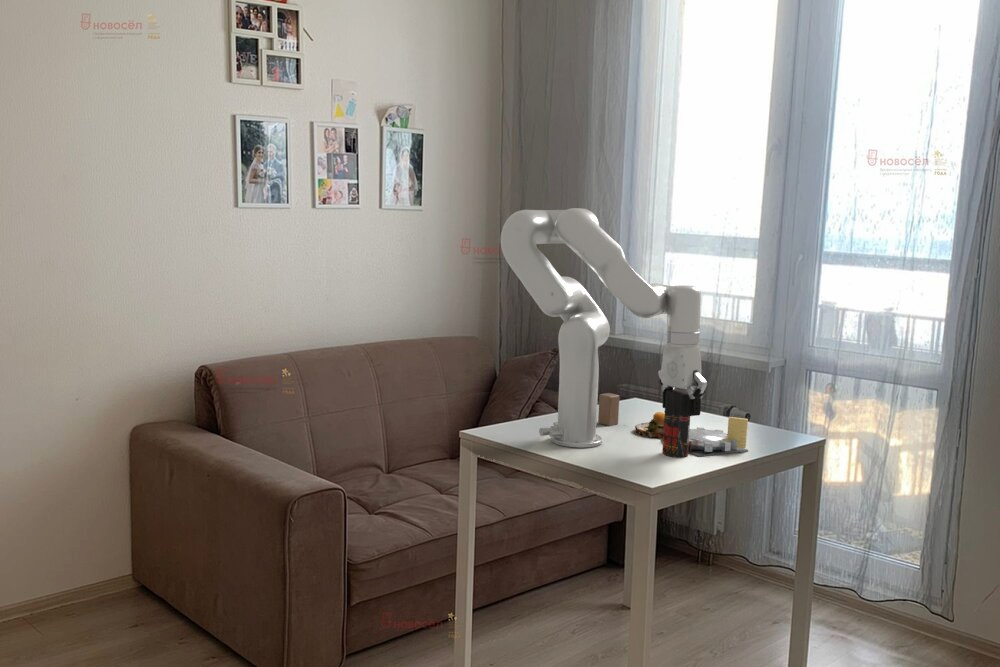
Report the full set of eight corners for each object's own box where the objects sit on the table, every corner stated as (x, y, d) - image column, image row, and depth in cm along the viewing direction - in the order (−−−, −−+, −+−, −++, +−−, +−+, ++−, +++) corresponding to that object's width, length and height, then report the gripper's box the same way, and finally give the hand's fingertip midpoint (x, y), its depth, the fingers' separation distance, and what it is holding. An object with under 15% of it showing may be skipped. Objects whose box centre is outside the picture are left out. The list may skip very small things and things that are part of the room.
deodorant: (660, 450, 221) (664, 389, 219) (685, 451, 221) (689, 390, 219) (664, 457, 215) (667, 394, 213) (689, 458, 215) (693, 395, 213)
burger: (674, 429, 245) (676, 401, 244) (686, 440, 233) (688, 411, 232) (630, 428, 244) (631, 400, 243) (640, 439, 232) (641, 410, 231)
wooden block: (618, 424, 247) (620, 395, 246) (608, 426, 244) (610, 396, 243) (607, 421, 250) (608, 392, 249) (597, 423, 247) (598, 394, 246)
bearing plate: (695, 457, 216) (695, 454, 216) (657, 441, 229) (658, 439, 229) (748, 451, 223) (748, 449, 223) (709, 436, 236) (709, 434, 236)
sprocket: (664, 446, 222) (666, 416, 221) (678, 432, 236) (680, 404, 235) (740, 456, 215) (742, 426, 214) (750, 441, 230) (752, 413, 229)
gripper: (648, 335, 220) (646, 406, 222) (692, 344, 205) (690, 420, 207) (673, 334, 223) (672, 403, 225) (719, 342, 208) (717, 417, 210)
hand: (681, 411), depth 216 cm, fingers open, 9 cm apart
